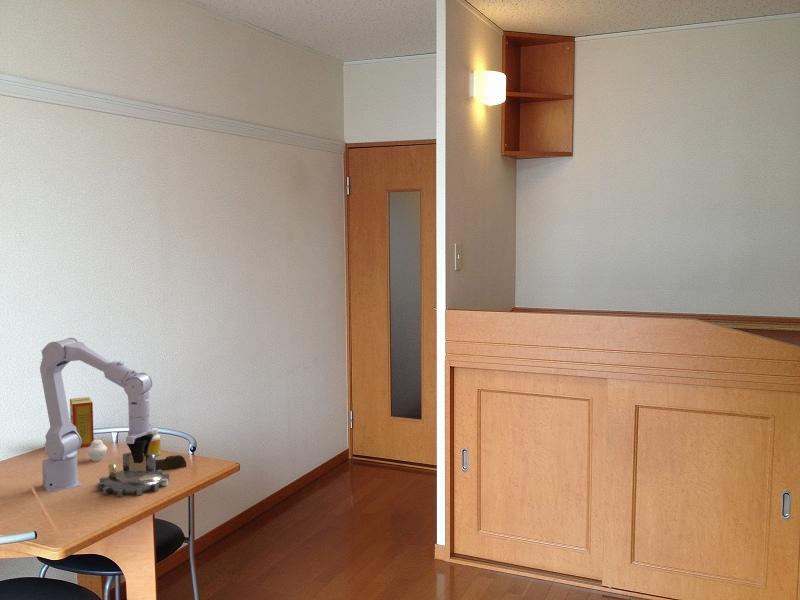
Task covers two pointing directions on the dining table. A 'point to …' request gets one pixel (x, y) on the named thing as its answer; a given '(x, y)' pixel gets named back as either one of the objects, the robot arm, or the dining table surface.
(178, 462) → the dark brown rough bar
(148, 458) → the cartridge fuse
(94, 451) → the white ribbed jar
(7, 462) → the dining table surface
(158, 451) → the supplement bottle
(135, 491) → the sprocket
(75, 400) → the baking soda box
